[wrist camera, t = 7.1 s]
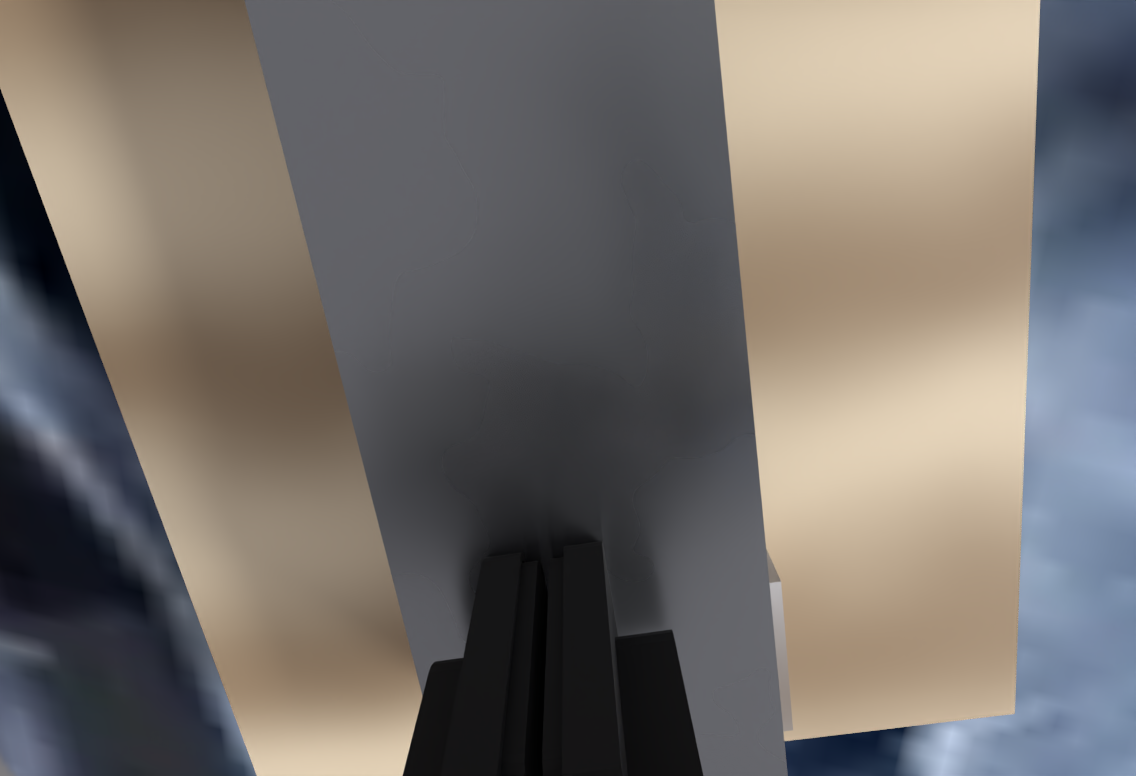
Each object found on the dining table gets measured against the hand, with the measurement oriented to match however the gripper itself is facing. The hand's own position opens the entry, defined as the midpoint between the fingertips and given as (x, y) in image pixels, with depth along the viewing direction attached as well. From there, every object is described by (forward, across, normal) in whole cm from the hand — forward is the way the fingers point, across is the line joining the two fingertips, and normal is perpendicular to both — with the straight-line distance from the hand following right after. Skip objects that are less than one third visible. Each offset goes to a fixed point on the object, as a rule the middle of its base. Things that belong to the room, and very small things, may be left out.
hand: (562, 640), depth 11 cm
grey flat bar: (+2, 0, -4) cm, 5 cm away
